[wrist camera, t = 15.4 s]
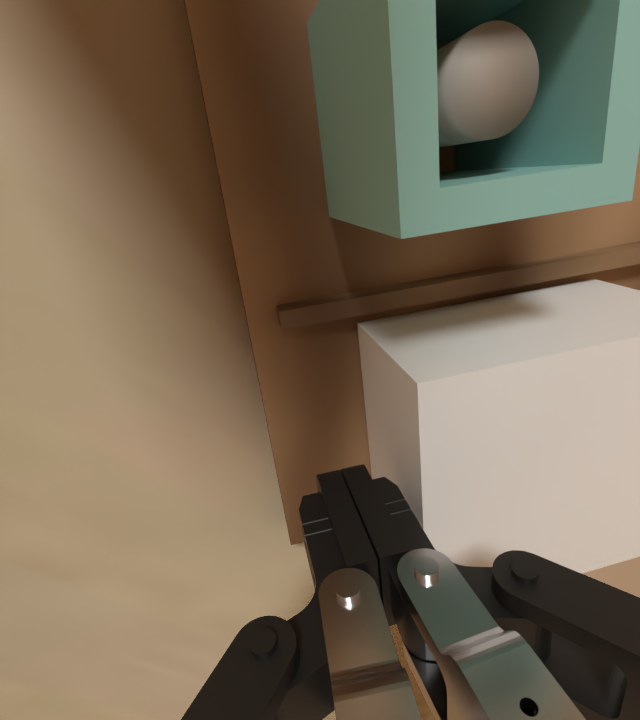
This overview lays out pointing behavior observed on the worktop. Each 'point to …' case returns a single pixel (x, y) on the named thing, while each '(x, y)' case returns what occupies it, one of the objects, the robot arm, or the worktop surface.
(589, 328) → the white rectangular block
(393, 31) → the sleeve
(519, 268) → the board
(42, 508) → the worktop surface
